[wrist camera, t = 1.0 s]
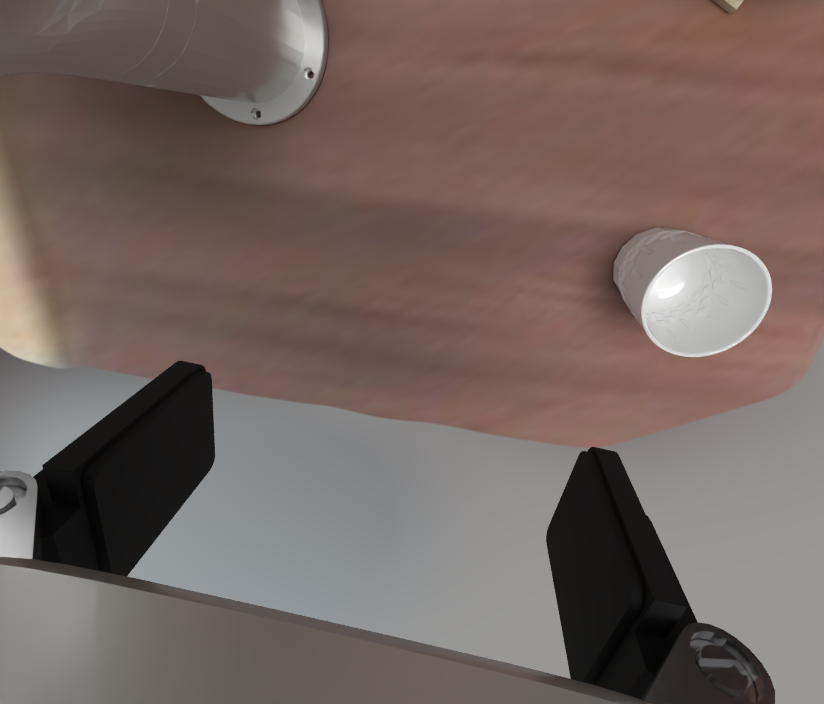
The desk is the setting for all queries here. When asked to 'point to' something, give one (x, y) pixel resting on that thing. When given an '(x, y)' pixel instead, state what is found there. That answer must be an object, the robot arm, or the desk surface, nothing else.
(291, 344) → the desk surface
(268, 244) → the desk surface
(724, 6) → the wooden post stand
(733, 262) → the white cup
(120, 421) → the robot arm
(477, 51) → the desk surface
